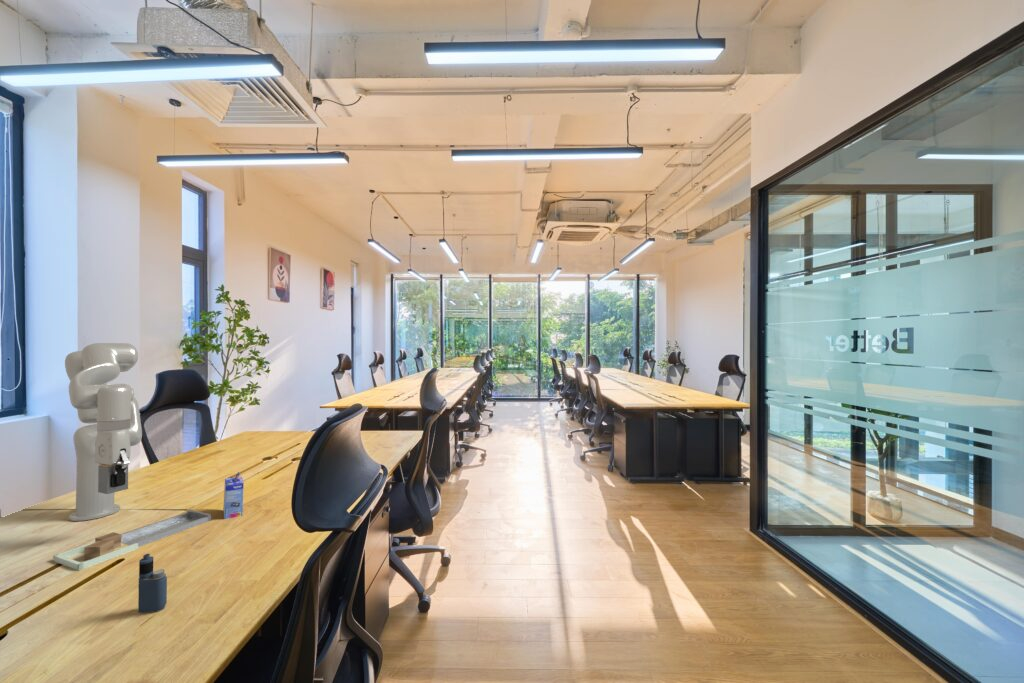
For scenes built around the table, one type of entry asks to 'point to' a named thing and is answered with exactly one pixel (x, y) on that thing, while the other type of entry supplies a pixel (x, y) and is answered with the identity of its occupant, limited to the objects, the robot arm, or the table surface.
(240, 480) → the ink cartridge box
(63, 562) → the tray
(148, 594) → the vaping device
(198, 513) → the open rectangular box
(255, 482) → the table surface
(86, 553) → the brown cube
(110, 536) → the tan cardboard cube
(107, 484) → the orange and gray block
